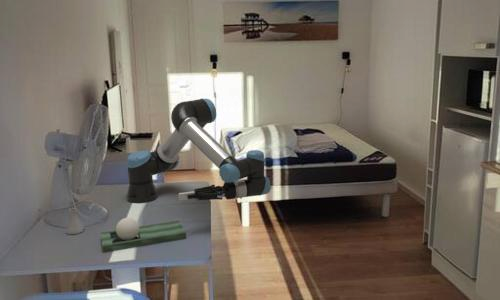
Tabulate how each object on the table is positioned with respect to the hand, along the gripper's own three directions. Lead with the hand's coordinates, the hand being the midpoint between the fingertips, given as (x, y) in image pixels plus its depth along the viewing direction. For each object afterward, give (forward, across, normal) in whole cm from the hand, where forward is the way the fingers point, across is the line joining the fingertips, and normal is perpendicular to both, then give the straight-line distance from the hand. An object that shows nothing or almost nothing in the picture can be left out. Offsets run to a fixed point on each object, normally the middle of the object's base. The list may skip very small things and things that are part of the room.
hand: (179, 196), depth 194 cm
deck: (+15, 0, -16) cm, 22 cm away
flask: (+41, +19, -16) cm, 48 cm away
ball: (+21, 0, -11) cm, 24 cm away
